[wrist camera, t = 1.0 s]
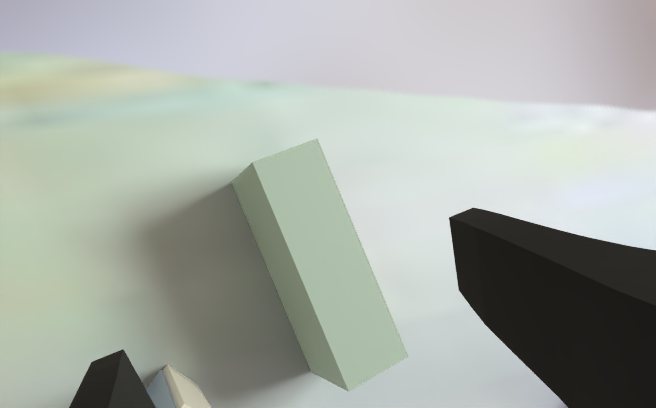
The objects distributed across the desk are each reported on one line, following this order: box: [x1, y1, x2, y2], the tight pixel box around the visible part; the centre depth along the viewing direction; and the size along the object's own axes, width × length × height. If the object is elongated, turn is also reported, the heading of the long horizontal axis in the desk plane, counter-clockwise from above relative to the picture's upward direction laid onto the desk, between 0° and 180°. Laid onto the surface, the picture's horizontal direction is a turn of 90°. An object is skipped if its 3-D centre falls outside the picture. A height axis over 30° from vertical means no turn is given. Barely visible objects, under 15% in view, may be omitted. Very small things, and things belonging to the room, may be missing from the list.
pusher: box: [231, 139, 408, 391], centre depth 24 cm, size 10×3×5 cm, turn 25°
